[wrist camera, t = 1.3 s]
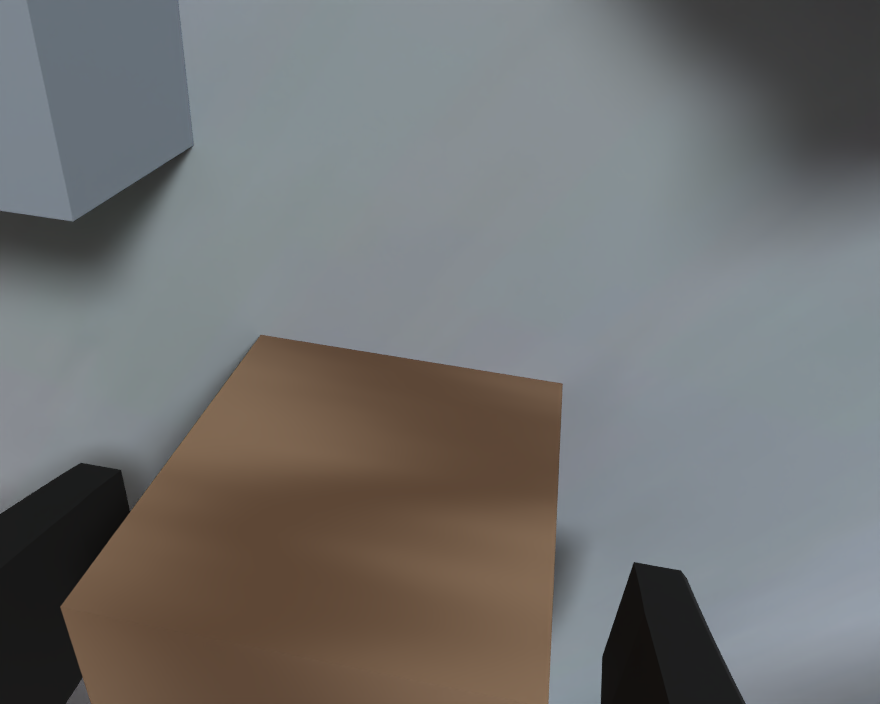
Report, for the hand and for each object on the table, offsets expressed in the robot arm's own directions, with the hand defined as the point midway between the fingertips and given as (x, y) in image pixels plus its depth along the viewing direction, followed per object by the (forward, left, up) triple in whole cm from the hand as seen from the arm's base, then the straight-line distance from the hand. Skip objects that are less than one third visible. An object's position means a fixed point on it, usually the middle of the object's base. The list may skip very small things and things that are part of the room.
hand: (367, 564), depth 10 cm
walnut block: (0, 0, -2) cm, 2 cm away
